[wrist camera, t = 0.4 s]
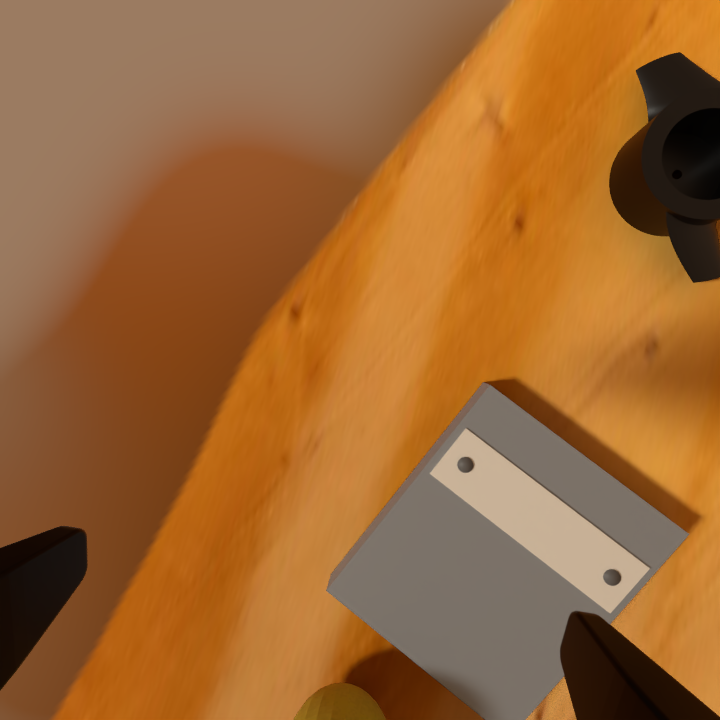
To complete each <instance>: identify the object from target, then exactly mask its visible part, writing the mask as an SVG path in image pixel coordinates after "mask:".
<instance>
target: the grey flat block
mask: <svg viewBox="0 0 720 720" xmlns="http://www.w3.org/2000/svg"><path fill="white" fill-rule="evenodd" d="M688 535H689V534H688V533H687V532H686V531H684V530H683V529H682V528H680V527H679V526H678V525H676V524H675V523H674V522H672V521H671V520H670V519H668V518H667V517H666V516H664V515H663V514H662V513H660V512H659V511H658V510H656V509H655V508H654V507H652V506H651V505H650V504H648V503H647V502H646V501H644V500H643V499H642V498H640V497H639V496H638V495H636V494H635V493H634V492H632V491H631V490H630V489H628V488H627V487H626V486H624V485H623V484H622V483H620V482H619V481H618V480H616V479H615V478H614V477H612V476H611V475H610V474H608V473H607V472H606V471H604V470H603V469H602V468H600V467H599V466H598V465H596V464H595V463H594V462H592V461H591V460H590V459H588V458H587V457H586V456H584V455H583V454H582V453H580V452H579V451H578V450H576V449H575V448H574V447H572V446H571V445H570V444H568V443H567V442H566V441H564V440H563V439H562V438H560V437H559V436H558V435H556V434H555V433H554V432H552V431H551V430H550V429H548V428H547V427H546V426H544V425H543V424H542V423H540V422H539V421H538V420H536V419H535V418H534V417H532V416H531V415H530V414H528V413H527V412H526V411H524V410H523V409H522V408H520V407H519V406H518V405H516V404H515V403H514V402H512V401H511V400H510V399H508V398H507V397H506V396H504V395H503V394H502V393H500V392H499V391H498V390H496V389H495V388H494V387H492V386H491V385H489V384H487V383H484V382H483V383H482V385H481V386H480V387H479V388H478V390H477V391H476V392H475V394H474V395H473V396H472V397H471V399H470V400H469V401H468V402H467V404H466V405H465V406H464V407H463V409H462V410H461V411H460V412H459V414H458V415H457V416H456V417H455V419H454V420H453V421H452V423H451V424H450V425H449V426H448V428H447V429H446V430H445V431H444V433H443V434H442V435H441V436H440V438H439V439H438V440H437V441H436V443H435V444H434V445H433V446H432V448H431V449H430V450H429V451H428V453H427V454H426V455H425V457H424V458H423V459H422V460H421V462H420V463H419V464H418V465H417V467H416V468H415V469H414V470H413V472H412V473H411V474H410V475H409V477H408V478H407V479H406V480H405V482H404V483H403V484H402V485H401V487H400V488H399V489H398V491H397V492H396V493H395V494H394V496H393V497H392V498H391V499H390V501H389V502H388V503H387V504H386V506H385V507H384V508H383V509H382V511H381V512H380V513H379V514H378V516H377V517H376V518H375V519H374V521H373V522H372V523H371V525H370V526H369V527H368V528H367V530H366V531H365V532H364V533H363V535H362V536H361V537H360V538H359V540H358V541H357V542H356V543H355V545H354V546H353V547H352V548H351V550H350V551H349V552H348V554H347V555H346V556H345V557H344V559H343V560H342V561H341V562H340V564H339V565H338V566H337V567H336V569H335V570H334V571H333V572H332V574H331V576H330V580H329V583H328V586H327V590H326V591H327V592H329V593H330V594H331V595H332V596H334V597H335V598H336V599H337V600H338V601H340V602H341V603H342V604H343V605H345V606H346V607H347V608H348V609H350V610H351V611H352V612H353V613H354V614H356V615H357V616H358V617H359V618H361V619H362V620H363V621H364V622H366V623H367V624H368V625H369V626H370V627H372V628H373V629H374V630H375V631H377V632H378V633H379V634H380V635H382V636H383V637H384V638H385V639H386V640H388V641H389V642H390V643H391V644H393V645H394V646H395V647H396V648H397V649H399V650H400V651H401V652H402V653H404V654H405V655H406V656H407V657H409V658H410V659H411V660H412V661H413V662H415V663H416V664H417V665H418V666H420V667H421V668H422V669H423V670H425V671H426V672H427V673H428V674H429V675H431V676H432V677H433V678H434V679H436V680H437V681H438V682H439V683H441V684H442V685H443V686H444V687H445V688H447V689H448V690H449V691H450V692H452V693H453V694H454V695H455V696H457V697H458V698H459V699H460V700H461V701H463V702H464V703H465V704H466V705H468V706H469V707H470V708H471V709H473V710H474V711H475V712H476V713H477V714H479V715H480V716H481V717H482V718H484V719H485V720H526V718H527V717H528V716H529V715H530V714H531V713H532V712H533V710H534V709H535V708H536V707H537V706H538V705H539V704H540V703H541V701H542V700H543V699H544V698H545V697H546V696H547V695H548V694H549V692H550V691H551V690H552V689H553V688H554V687H555V686H556V684H557V683H558V682H559V681H560V680H561V679H562V678H563V677H564V672H563V669H562V665H561V660H560V646H561V642H562V639H563V635H564V632H565V628H566V625H567V621H568V618H569V615H570V614H571V612H573V611H583V612H589V613H594V614H597V615H599V616H600V617H602V618H603V619H604V620H605V621H606V622H608V623H609V624H610V623H611V622H612V621H613V620H614V619H615V618H616V617H617V616H618V614H619V613H620V612H621V611H622V610H623V609H624V608H625V606H626V605H627V604H628V603H629V602H630V601H631V600H632V599H633V597H634V596H635V595H636V594H637V593H638V592H639V591H640V590H641V588H642V587H643V586H644V585H645V584H646V583H647V582H648V581H649V579H650V578H651V577H652V576H653V575H654V574H655V573H656V571H657V570H658V569H659V568H660V567H661V566H662V565H663V564H664V562H665V561H666V560H667V559H668V558H669V557H670V556H671V555H672V553H673V552H674V551H675V550H676V549H677V548H678V547H679V545H680V544H681V543H682V542H683V541H684V540H685V539H686V538H687V536H688Z"/></svg>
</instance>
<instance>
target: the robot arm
mask: <svg viewBox="0 0 720 720" xmlns="http://www.w3.org/2000/svg"><path fill="white" fill-rule="evenodd" d="M86 570H87V536H86V533H85V531H84V530H82V529H80V528H75V527H69V526H60V527H57V528H54V529H51V530H48V531H45V532H43V533H40V534H37V535H35V536H32V537H29V538H27V539H24V540H21V541H18V542H16V543H13V544H10V545H7V546H5V547H2V548H0V690H1V689H2V688H3V687H4V685H5V684H6V683H7V682H8V680H9V679H10V678H11V677H12V675H13V674H14V673H15V672H16V671H17V669H18V668H19V667H20V665H21V664H22V663H23V661H24V660H25V658H26V657H27V656H28V655H29V653H30V652H31V651H32V649H33V648H34V646H35V645H36V644H37V642H38V641H39V640H40V638H41V637H42V635H43V634H44V632H45V631H46V630H47V629H48V627H49V626H50V624H51V623H52V622H53V620H54V619H55V617H56V616H57V615H58V613H59V612H60V610H61V609H62V608H63V606H64V605H65V604H66V602H67V601H68V600H69V598H70V597H71V595H72V594H73V593H74V591H75V590H76V588H77V587H78V586H79V584H80V582H81V581H82V580H83V578H84V576H85V573H86ZM560 660H561V665H562V669H563V672H564V676H565V679H566V683H567V686H568V690H569V694H570V697H571V701H572V704H573V708H574V711H575V715H576V718H577V720H720V717H719V716H718V715H717V714H716V713H715V712H713V711H712V710H711V709H710V708H709V707H707V706H706V705H705V704H704V703H703V702H701V701H700V700H699V699H698V698H697V697H696V696H694V695H693V694H692V693H691V692H690V691H688V690H687V689H686V688H685V687H684V686H682V685H681V684H680V683H679V682H678V681H677V680H675V679H674V678H673V677H672V676H671V675H669V674H668V673H667V672H666V671H665V670H663V669H662V668H661V667H660V666H659V665H658V664H656V663H655V662H654V661H653V660H652V659H650V658H649V657H648V656H647V655H646V654H644V653H643V652H642V651H641V650H640V649H639V648H637V647H636V646H635V645H634V644H633V643H631V642H630V641H629V640H628V639H627V638H625V637H624V636H623V635H622V634H621V633H620V632H618V631H617V630H616V629H615V628H614V627H612V626H611V625H610V624H609V623H608V622H606V621H605V620H604V619H603V618H602V617H600V616H599V615H597V614H594V613H589V612H583V611H573V612H571V614H570V615H569V618H568V621H567V625H566V628H565V632H564V635H563V639H562V642H561V646H560Z"/></svg>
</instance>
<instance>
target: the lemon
mask: <svg viewBox="0 0 720 720" xmlns="http://www.w3.org/2000/svg"><path fill="white" fill-rule="evenodd" d="M294 720H386V717H385V716H384V714H383V712H382V710H381V709H380V707H379V705H378V703H377V702H376V701H375V700H374V699H373V698H372V697H371V696H370V695H369V694H368V693H367V692H366V691H364V690H363V689H361V688H360V687H358V686H355V685H352V684H348V683H335V684H330V685H328V686H325V687H323V688H321V689H319V690H318V691H317V692H315V693H314V694H313V695H312V696H310V697H309V698H308V699H307V700H306V702H305V703H304V704H303V706H302V707H301V709H300V710H299V711H298V713H297V715H296V716H295V718H294Z"/></svg>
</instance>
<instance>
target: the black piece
mask: <svg viewBox="0 0 720 720" xmlns="http://www.w3.org/2000/svg"><path fill="white" fill-rule="evenodd" d="M636 73H637V75H638V78H639V80H640V83H641V86H642V88H643V91H644V95H645V99H646V103H647V109H648V123H647V124H646V125H645V126H644V127H643V128H642V129H641V130H640V131H638V132H637V133H636V134H635V135H634V136H633V137H632V138H631V139H630V140H628V141H627V142H626V143H625V145H624V146H623V147H622V148H621V150H620V151H619V152H618V154H617V156H616V158H615V160H614V162H613V165H612V168H611V172H610V179H609V187H610V194H611V198H612V201H613V204H614V206H615V208H616V209H617V211H618V213H619V214H620V215H621V217H622V218H623V219H624V220H625V221H626V222H627V223H629V224H630V225H631V226H633V227H634V228H636V229H638V230H640V231H642V232H644V233H647V234H651V235H656V236H669V237H670V240H671V242H672V245H673V247H674V250H675V252H676V254H677V256H678V258H679V260H680V262H681V263H682V265H683V267H684V269H685V270H686V272H687V274H688V275H689V277H690V278H691V280H692V281H693V283H694V282H702V281H708V280H712V279H716V278H719V277H720V245H719V239H718V234H717V230H716V222H717V221H718V220H720V82H719V81H718V80H716V79H715V78H714V77H712V76H711V75H709V74H708V73H707V72H705V71H704V70H703V69H701V68H700V67H698V66H697V65H696V64H694V63H693V62H692V61H690V60H689V59H688V58H687V57H685V56H684V55H683V54H682V53H680V52H679V53H674V54H670V55H667V56H664V57H661V58H659V59H656V60H654V61H652V62H650V63H648V64H646V65H644V66H642V67H640V68H639V69H637V70H636Z"/></svg>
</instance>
